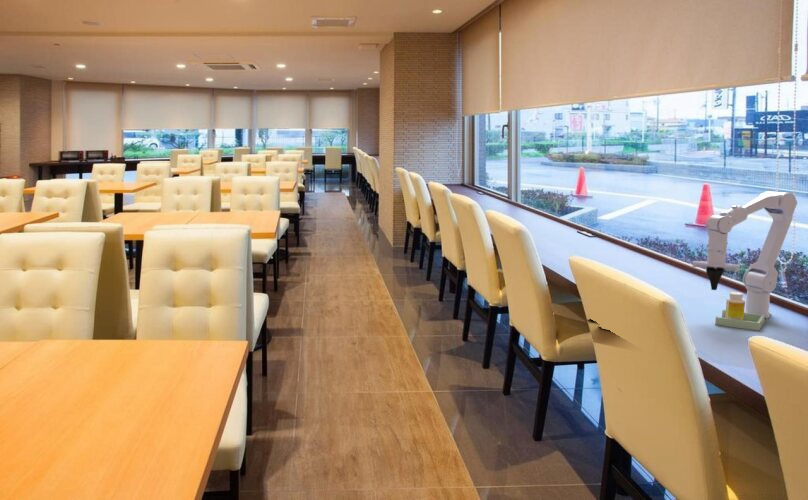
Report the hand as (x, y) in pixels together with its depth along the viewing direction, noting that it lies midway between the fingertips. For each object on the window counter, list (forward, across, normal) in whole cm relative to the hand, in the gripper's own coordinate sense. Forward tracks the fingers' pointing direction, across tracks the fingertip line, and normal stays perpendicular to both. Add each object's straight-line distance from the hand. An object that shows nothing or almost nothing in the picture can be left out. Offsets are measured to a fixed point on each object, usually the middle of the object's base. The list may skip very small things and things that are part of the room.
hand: (714, 289), depth 225 cm
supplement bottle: (+11, +7, -1) cm, 13 cm away
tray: (+10, +9, -1) cm, 14 cm away
